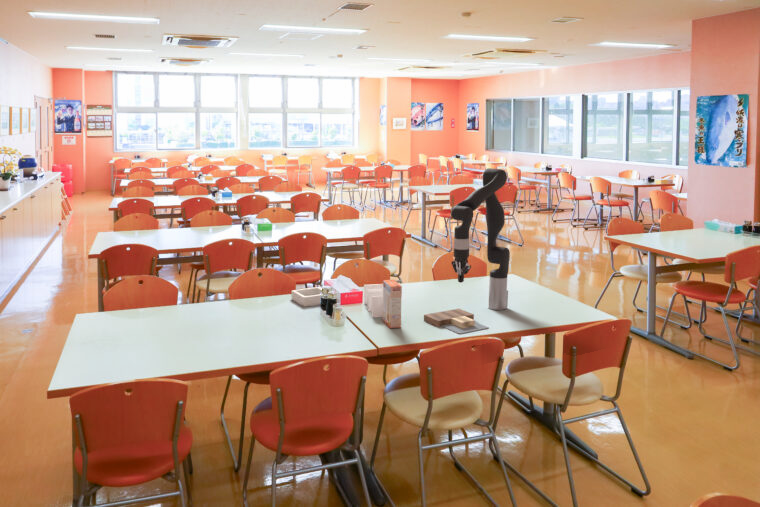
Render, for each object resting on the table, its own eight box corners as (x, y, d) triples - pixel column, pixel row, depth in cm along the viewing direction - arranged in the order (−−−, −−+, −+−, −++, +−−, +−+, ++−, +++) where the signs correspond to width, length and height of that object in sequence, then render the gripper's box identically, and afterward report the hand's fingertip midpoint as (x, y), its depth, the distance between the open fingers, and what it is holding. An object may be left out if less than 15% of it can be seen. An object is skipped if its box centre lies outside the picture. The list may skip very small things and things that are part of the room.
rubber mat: (469, 320, 323) (469, 319, 323) (488, 328, 310) (488, 327, 310) (440, 325, 314) (440, 324, 314) (459, 334, 301) (459, 333, 301)
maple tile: (464, 321, 319) (464, 315, 318) (474, 326, 312) (474, 320, 312) (451, 324, 315) (451, 318, 314) (461, 328, 308) (461, 322, 308)
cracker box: (401, 328, 310) (402, 285, 306) (389, 328, 308) (390, 286, 304) (394, 319, 323) (394, 279, 319) (382, 320, 322) (382, 279, 318)
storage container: (393, 316, 329) (393, 295, 327) (372, 317, 327) (372, 296, 325) (383, 303, 353) (383, 283, 351) (363, 304, 351) (363, 284, 349)
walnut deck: (458, 314, 333) (459, 308, 332) (473, 320, 323) (473, 314, 322) (423, 320, 322) (423, 314, 321) (438, 326, 312) (438, 320, 311)
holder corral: (318, 295, 368) (318, 286, 367) (332, 302, 354) (332, 293, 353) (291, 299, 359) (291, 290, 358) (304, 306, 345) (303, 297, 344)
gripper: (476, 248, 307) (475, 283, 311) (458, 244, 318) (458, 278, 322) (464, 250, 304) (463, 286, 307) (446, 245, 314) (446, 280, 318)
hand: (460, 281), depth 315 cm, fingers closed
